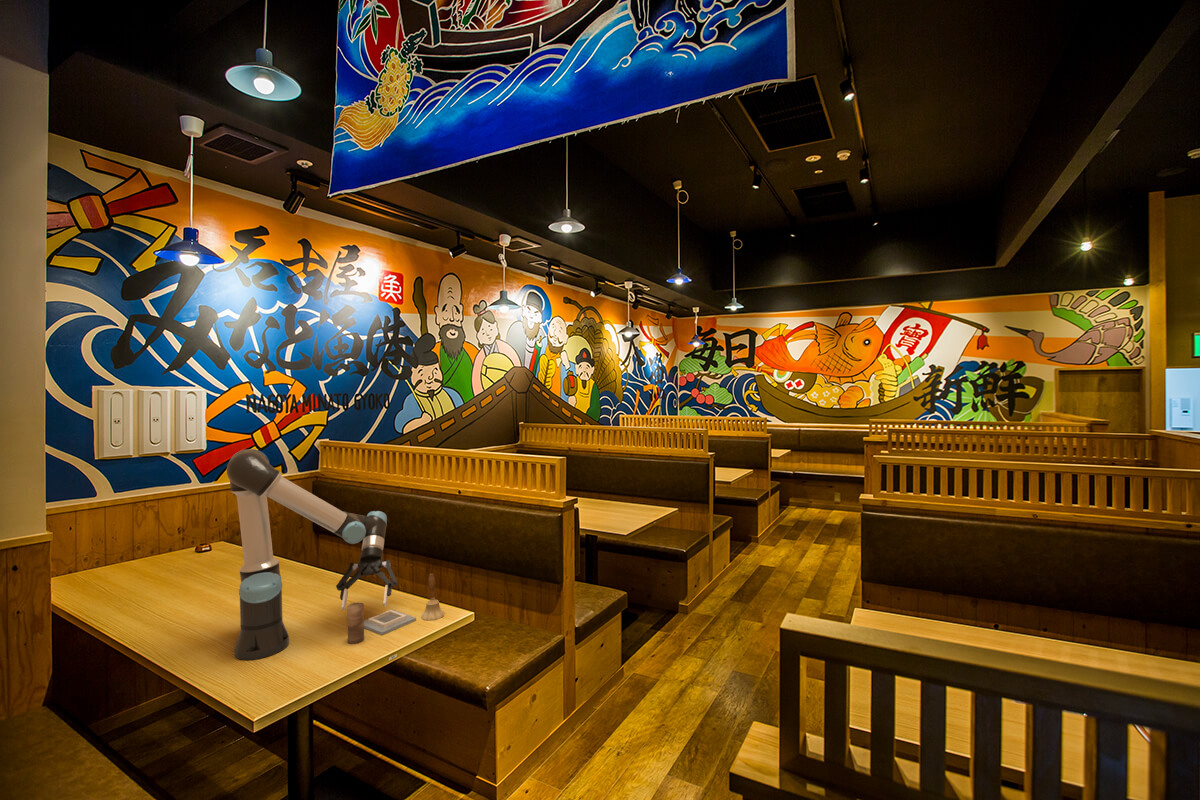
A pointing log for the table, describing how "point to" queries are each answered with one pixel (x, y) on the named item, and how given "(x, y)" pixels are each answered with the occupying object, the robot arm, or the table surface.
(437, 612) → the hand bell
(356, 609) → the walnut pin
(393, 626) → the board
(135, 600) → the table surface
